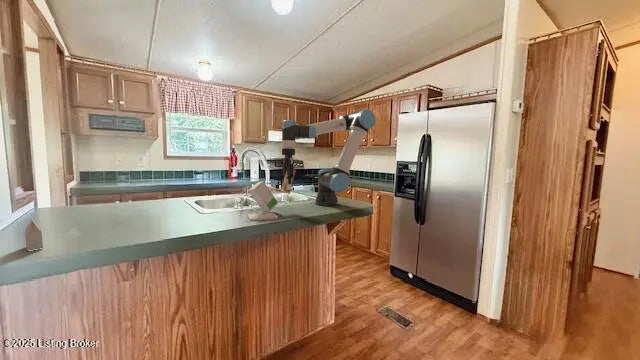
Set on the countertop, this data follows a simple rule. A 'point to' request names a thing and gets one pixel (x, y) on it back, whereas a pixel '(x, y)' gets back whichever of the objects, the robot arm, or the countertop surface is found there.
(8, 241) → the countertop surface
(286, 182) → the wooden bracket
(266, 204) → the skincare box
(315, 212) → the countertop surface
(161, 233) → the countertop surface
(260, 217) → the mat
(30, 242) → the tea bag
